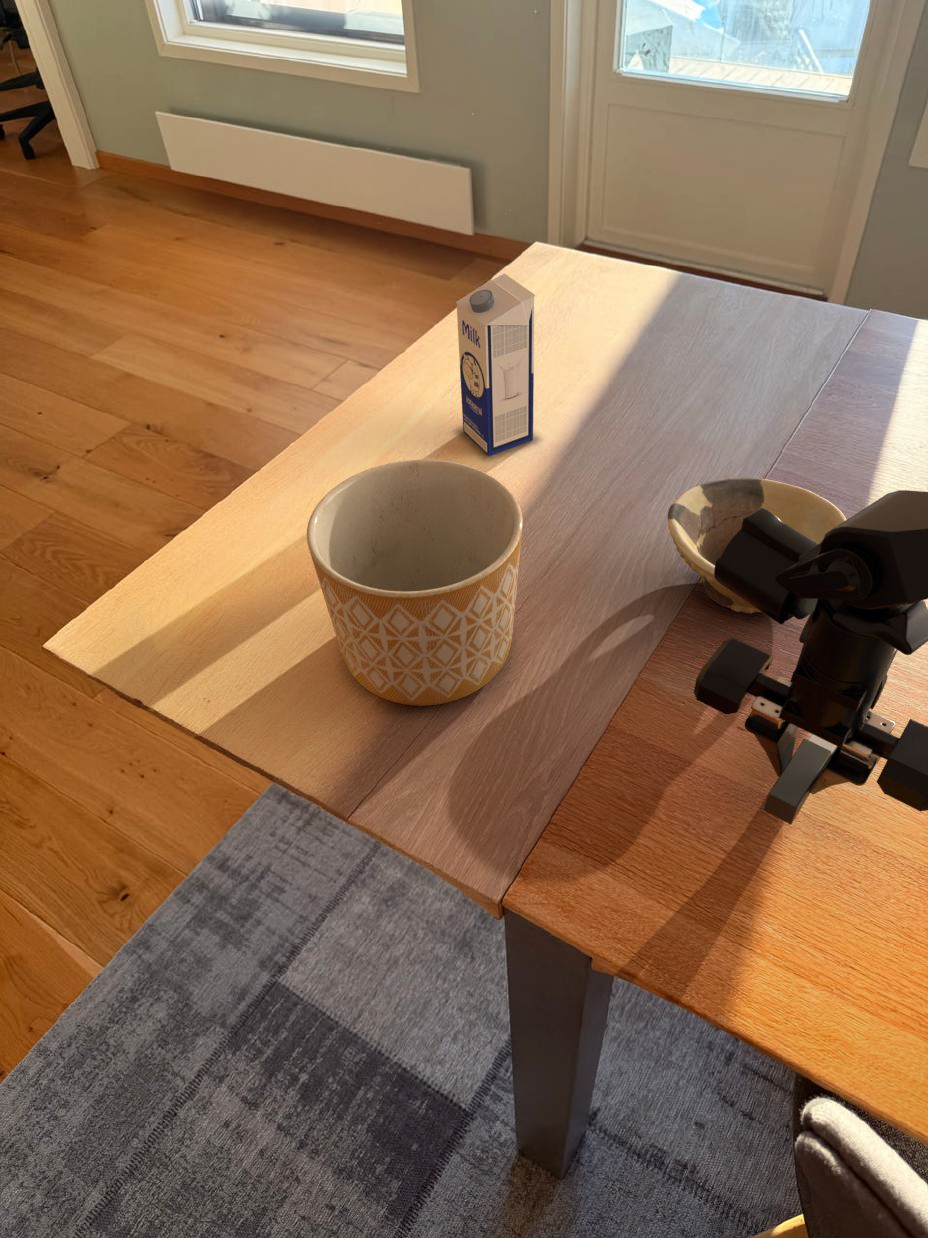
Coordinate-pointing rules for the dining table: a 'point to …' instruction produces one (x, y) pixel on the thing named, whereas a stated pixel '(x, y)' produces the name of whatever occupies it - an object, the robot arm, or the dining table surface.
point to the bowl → (740, 523)
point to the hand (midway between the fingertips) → (797, 781)
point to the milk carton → (497, 364)
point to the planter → (419, 577)
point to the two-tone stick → (798, 778)
